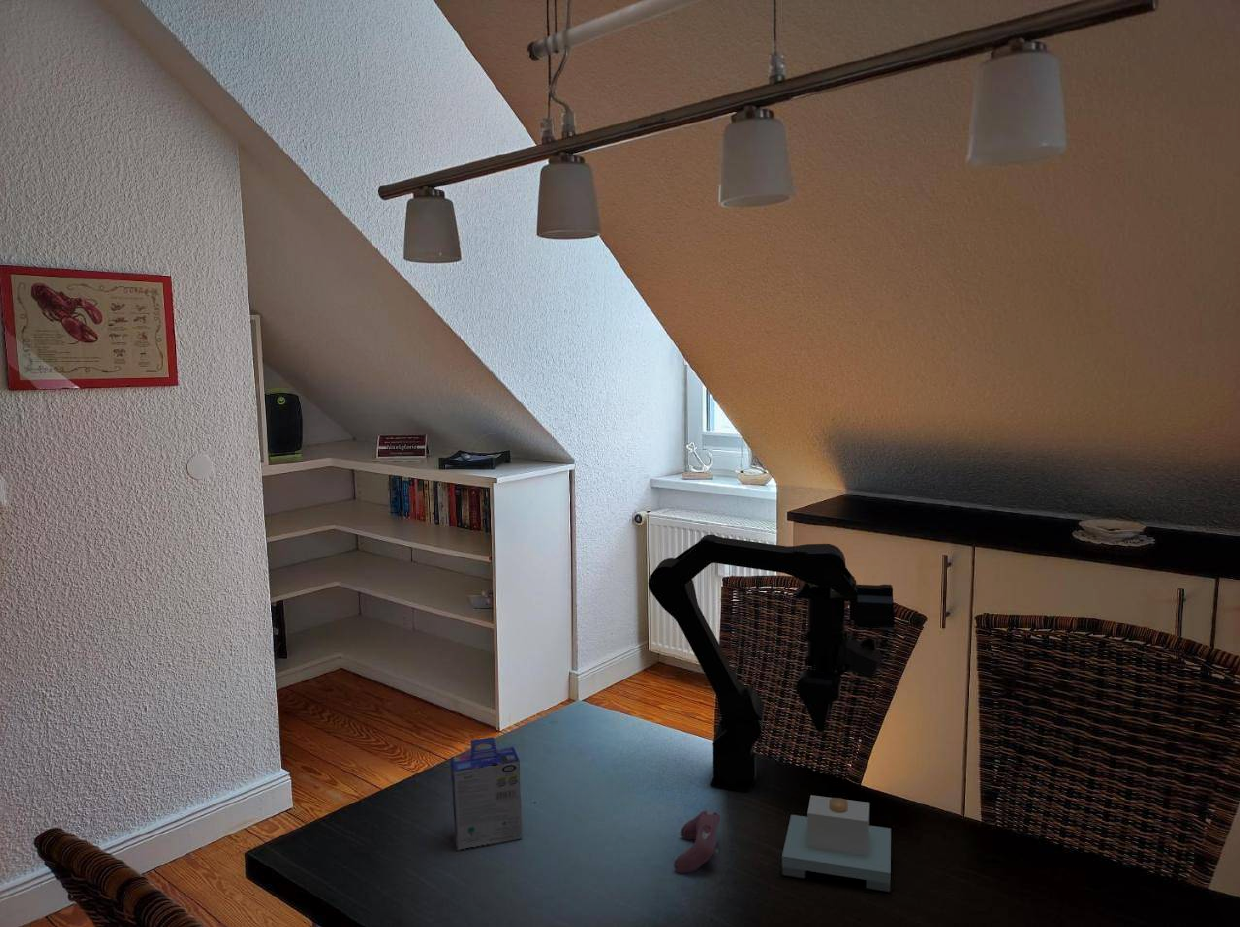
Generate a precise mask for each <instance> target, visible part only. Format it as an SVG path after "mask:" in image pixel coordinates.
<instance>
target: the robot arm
mask: <svg viewBox="0 0 1240 927" xmlns="http://www.w3.org/2000/svg"><path fill="white" fill-rule="evenodd" d="M711 564H719V565H727V566H732V567H742V568H747V569H754V570H761V571H766V572H767V571H769V572H773V573H774V572H775V573H780V574H781V573H782V574H785V575H789V576H791V577H793V578H795V579H798V580H799V581H801V582H803V584H802V585H800V586H799V587H798V588H796V590H795V598H796V599H800V600H801V599H803V600H807V620H806V621H807V622H806V624H807V627H806V628H807V629H806V632H805V634H804V638H805V639H804V641H806V656H805V658H804V666H805V667H810V668H811V669H807V668H806V669H805V670H803V671H802V672H801V673H800V674H799V676H798V679H797V681H796V694H797V695H798V697H800V698H801V701H802V702H803V703H804V704H803V705H804V707H805V709H806V711H807V712H808V714H809V717H810V719H811V721H812V724H813V725H814V728H815V730H816V732H819V733H824V732H825V728H826V725H827V720H828V714H829V711H830V710H831V709H832V708H833V703H834V702H837V701H838V700H839V698H840V695H841V692H842V691H841V689H842V678H841V676H842V675H843V674H845V673H846V672H847V671H848V670H851V671H853V672H854V673H857V674H860V675H862V676H863V678H866V679H868V680H873V679H874V678H875V676H876V674H877V670H878V668H879V666H880V664H881V661H882V656H883V654H882V653H881V650H880V649H877V646H876V644H877V643H876V639H875V638H873V637H871V636H867V635H866V636H865V637H864V638H862V639H861V640H855V641H854V640H852V639H849V637H848V636H849V633H848V631H847V629H846V628H845V621H846V620H845V619H846V618H845V615H846V613H845V612H846V602H848V621H850V622H852V621H853V625H856V626H855V627H856V629H857V628H859V629H870V630H871V629H875V630H890V631H891V630H892V631H893V630H895V622H896V621H895V620H896V611H895V607H894V604H895V603H894V587H893V585H892V584H880V585H872V584H869V585H868V584H858V583H857V580H856V579H855V576H853V575H852V574H851V572H850V571H849V570H848V568H847V566H846V558H845V555H844V553H843V552H842V550H841V549H840V548H839V547H838V546H836V545H834V544H831V543H811V544H810V543H809V544H808V543H807V544H801V545H793V546H792V545H789V546H787V545H778V544H772V543H765V542H758V541H751V540H744V539H736V538H730V537H724V536H718V535H717V534H716V535H715V534H706V535H704V536H703V537H701V538H700V540H699V541H698V542H696V543H695V544H693V545H692V546H690V547H688V548H687V549H686V550H685V551H683V552H682V553H681V554H679V555H678V556H677V557H668V558H665V559H663V560H662V561H660V562H659V563H658V565H657V566H656V567H655V568H654V570H653V571H652V572H651V574H650V575H649V579H648V588H649V592H650V593H651V595H652V596H653V597H654V598H655V600H656V601H657V603H659V605H660V606H661V608H662V609H664V611H665V612H666V613H668V614H669V616H671V617H672V618H673V619H675V621H676V622H677V624H678V626H679V628H680V630H681V632H682V634H683V635H684V637H685V639H686V642H687V643H688V645H689V647H690V648H691V650H692V653H693V654H694V656H695V658H696V660H697V661H698V662H697V663H699V665H700V667H701V670H702V671H703V673H704V675H705V677H706V679H707V680H708V683H709V684H710V686H711V689H713V691H714V694H715V696H716V700H717V703H718V709H719V714H720V718H721V719H720V720H719V721H718V722H717V723H718V724H717V725H716V726H717V727H716V730H715V733H714V737H713V740H712V744H711V745H712V778H711V780H710V786H711V787H712V788H719V789H725V790H726V789H727V790H734V791H742V792H750V791H751V789H752V787H753V784H754V783H756V779H757V777H758V776H757V774H758V768H757V767H758V765H757V764H758V760H757V759H758V757H757V756H758V755H757V754H758V753H757V752H754V744H755V743H756V742H757V741H759V739H760V737H761V735H762V731H763V726H764V725H763V724H764V719H765V710H764V709H765V704H766V702H765V701H763V700H762V698H760V696H759V695H758V692H757V689H756V685H755V684H754V683H751V684H750V685H748V686H746V685H744V684H743V683H742V682H741V681H740V680H739V679H738V677H737V675H736V673H735V671H734V670H733V668H732V665H731V664H730V662H729V661H728V659H727V657H726V653H725V652H724V650H723V649H722V647H721V646H720V643H719V641H718V639H717V638H716V635H715V634H714V632H713V631H712V629H711V627H710V624H709V622H708V621H707V619H706V617H705V615H704V614H703V611H702V609H701V608H700V606H699V602H698V598H697V593H696V588H695V585H694V581H693V579H694V578H695V577H696V576H697V575H699V574H700V573H701V572H703V570H704V569H706V568H707V567H708V566H710V565H711Z"/></svg>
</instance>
